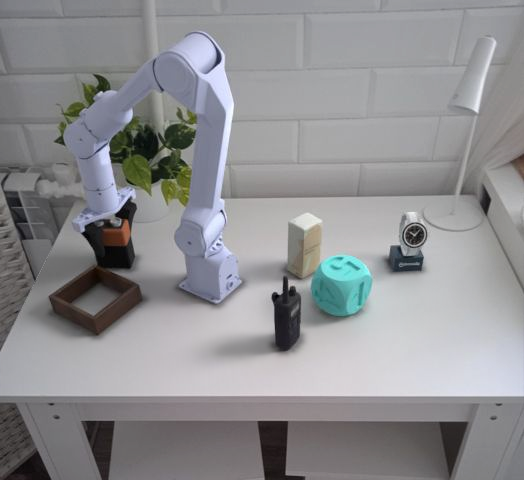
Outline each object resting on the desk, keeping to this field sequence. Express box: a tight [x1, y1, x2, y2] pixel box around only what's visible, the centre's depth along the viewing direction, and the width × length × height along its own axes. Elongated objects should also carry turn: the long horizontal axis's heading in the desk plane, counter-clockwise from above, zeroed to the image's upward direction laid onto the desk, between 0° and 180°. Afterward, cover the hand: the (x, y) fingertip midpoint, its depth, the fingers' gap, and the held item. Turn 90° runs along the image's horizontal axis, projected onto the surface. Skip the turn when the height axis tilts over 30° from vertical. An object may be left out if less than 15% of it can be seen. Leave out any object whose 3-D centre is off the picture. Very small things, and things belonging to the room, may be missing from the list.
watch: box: [388, 211, 430, 273], centre depth 118 cm, size 6×8×11 cm
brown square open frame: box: [47, 263, 144, 336], centre depth 114 cm, size 12×12×4 cm
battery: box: [94, 217, 136, 270], centre depth 121 cm, size 4×7×10 cm, turn 86°
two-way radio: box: [270, 275, 302, 351], centre depth 102 cm, size 6×4×15 cm
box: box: [286, 211, 323, 279], centre depth 118 cm, size 5×4×11 cm
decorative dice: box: [310, 254, 373, 317], centre depth 111 cm, size 8×8×8 cm
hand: (113, 245), depth 122 cm, fingers closed on battery, 6 cm apart
